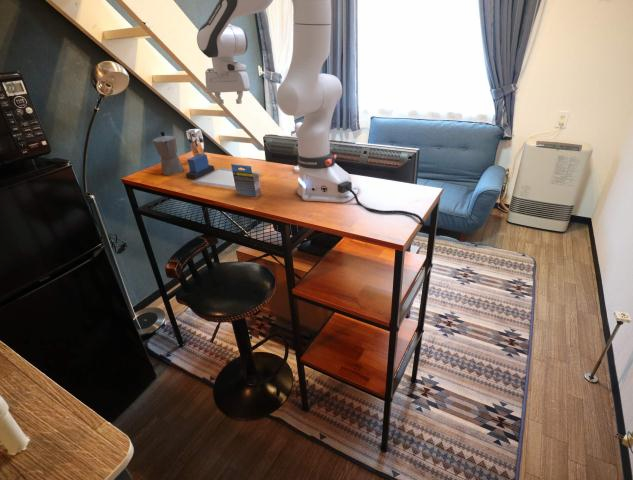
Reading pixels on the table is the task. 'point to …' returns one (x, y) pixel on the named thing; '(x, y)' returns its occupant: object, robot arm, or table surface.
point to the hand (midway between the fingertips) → (230, 104)
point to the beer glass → (195, 141)
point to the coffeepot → (168, 154)
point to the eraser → (198, 166)
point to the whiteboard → (219, 178)
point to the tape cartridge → (246, 181)
